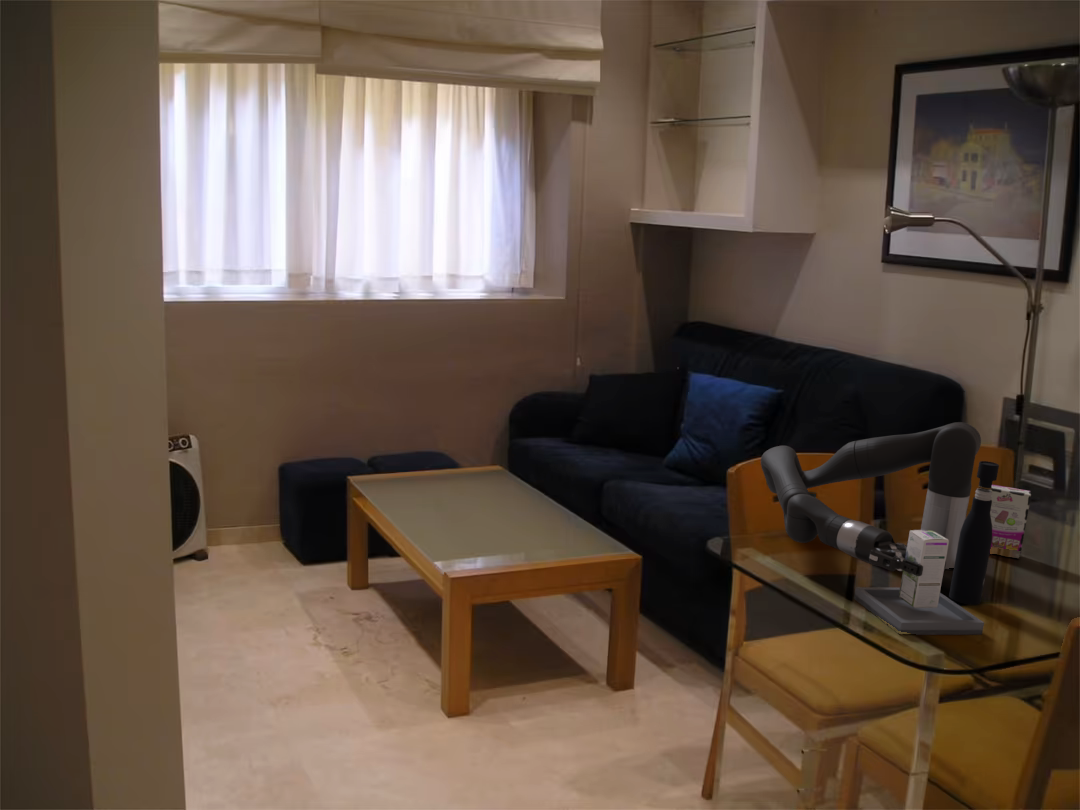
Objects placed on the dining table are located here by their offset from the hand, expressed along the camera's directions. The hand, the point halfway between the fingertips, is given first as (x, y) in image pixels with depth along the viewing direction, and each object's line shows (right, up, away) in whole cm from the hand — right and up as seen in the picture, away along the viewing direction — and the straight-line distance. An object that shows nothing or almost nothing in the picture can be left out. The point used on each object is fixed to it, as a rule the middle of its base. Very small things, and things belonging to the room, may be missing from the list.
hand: (933, 568), depth 217 cm
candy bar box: (+33, -4, +51) cm, 61 cm away
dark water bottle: (+13, -9, +16) cm, 22 cm away
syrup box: (-2, -8, +3) cm, 8 cm away
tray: (-2, -10, +4) cm, 11 cm away
